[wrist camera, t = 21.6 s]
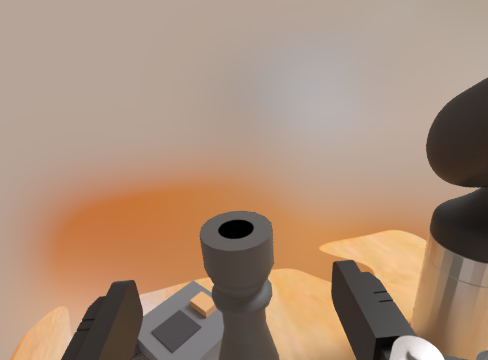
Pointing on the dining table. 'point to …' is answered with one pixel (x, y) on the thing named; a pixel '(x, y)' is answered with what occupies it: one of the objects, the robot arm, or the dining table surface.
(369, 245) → the dining table surface
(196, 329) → the grey compartment tray
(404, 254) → the dining table surface
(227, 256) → the candle holder
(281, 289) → the dining table surface
